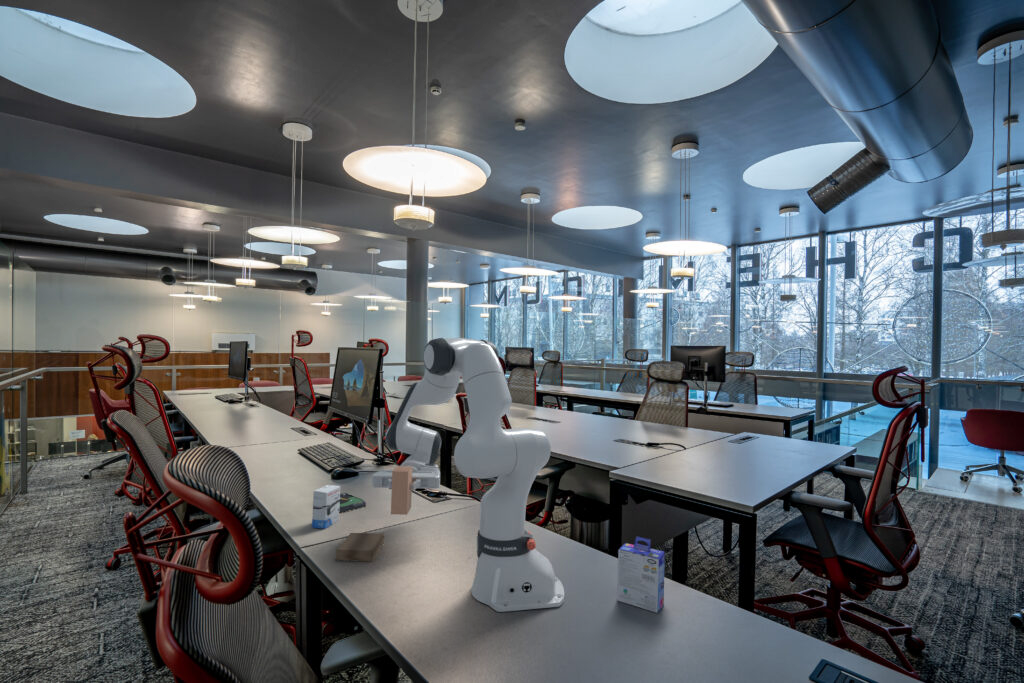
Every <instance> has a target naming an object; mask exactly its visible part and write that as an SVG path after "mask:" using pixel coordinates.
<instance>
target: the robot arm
mask: <svg viewBox="0 0 1024 683" xmlns="http://www.w3.org/2000/svg"><path fill="white" fill-rule="evenodd" d="M499 358H500V357H499V351H498V347H497V346H496V345H495V343H494V342H493V341H492V342H491V341H490V340H486V339H475V338H464V337H449V338H444V337H438V338H432V339H430V340H429V341H428V342H427V343H426V345H425V347H424V351H423V363H424V367H425V370H424V375H423V376H422V379H420V380H419V381H418V382H413V384H411V386H410V387H409V389H408V390H407V391H406V394H405V396H404V397H403V400H402V402H401V404H400V406H399V407H398V410H397V412H396V414H395V416H394V419H393V421H392V422H391V424H390V425H389V427H388V428H387V430H386V432H385V436H384V441H385V443H386V445H387V447H388V449H389V450H393V451H397V452H402V453H405V454H408V455H409V456H408V457H407V458H406V459H405V460H404V461H403V462H402V463H401V464H400V465H399V466H411V467H412V482H411V483H410V485H409V486H410V488H409V489H410V490H412V491H414V490H416V489H430V490H431V489H433V490H434V489H435V490H436V489H439V488H441V486H440V485H441V471H440V469H439V464H436V462H437V460H438V458H439V456H440V452H441V449H442V443H443V441H442V438H441V435H440V433H439V432H438V431H437V430H433V429H430V428H428V427H423V426H420V425H417V424H415V423H411V422H410V421H409V420H408V419H409V417H410V415H411V413H412V411H413V409H414V408H415V407H418V406H437V405H442V404H443V405H444V404H445V403H447V402H448V401H450V400H452V399H453V397H454V396H455V394H456V392H457V389H458V387H459V383H460V381H461V379H462V383H463V387H464V391H465V395H466V400H467V406H468V412H469V420H468V425H467V428H466V429H465V432H464V433H463V435H462V436H461V437H460V438H459V440H458V441H457V442H456V444H455V447H454V451H453V459H454V464H455V467H456V469H457V471H458V472H459V473H460V474H461V475H462V476H463V477H465V478H472V479H489V478H495V477H496V478H497V479H496V481H495V483H494V484H493V485H492V486H491V487H490V489H489V490H487V491H486V492H485V493H484V494H483V496H482V497H481V500H480V503H479V505H480V506H479V528H478V531H477V536H476V556H477V560H476V568H475V574H474V578H473V582H472V585H471V587H470V593H471V595H472V597H473V598H474V599H475V600H477V601H478V602H480V603H483V604H485V605H487V606H489V607H491V608H492V609H493V610H494V611H495V612H498V613H499V612H500V613H501V612H503V613H505V612H515V611H524V610H535V609H538V610H539V609H547V608H558V607H561V605H562V604H563V603H564V602H565V589H564V585H563V583H562V582H561V580H560V579H559V578H558V577H557V576H556V575H555V570H554V568H553V565H552V563H551V562H550V560H549V559H548V557H546V556H545V555H543V554H542V553H541V552H539V551H538V550H537V549H536V541H535V539H534V536H533V535H532V534H531V533H532V532H531V531H530V530H528V531H527V530H525V529H526V528H525V527H526V509H527V502H528V498H529V494H530V491H531V488H532V485H533V483H534V481H535V480H536V477H537V476H538V475H539V473H540V471H541V470H543V468H544V467H545V466H546V465H547V464H548V462H549V460H550V457H551V452H552V448H551V443H550V440H549V438H548V437H547V435H546V434H545V432H543V431H542V430H540V429H536V428H531V427H530V428H529V427H517V428H507V429H506V428H505V429H504V428H503V427H502V423H501V418H502V417H504V416H505V415H506V414H507V413H508V412H509V411H510V409H511V406H512V400H513V398H512V396H511V391H510V389H509V386H508V383H507V379H506V376H505V373H504V369H503V367H502V364H501V362H500V360H499ZM461 377H462V378H461ZM393 470H394V469H383V470H379V471H377V472H375V473H373V474H372V476H371V487H373V488H385V489H386V488H388V490H392V471H393Z"/></svg>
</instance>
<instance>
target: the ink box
mask: <svg viewBox="0 0 1024 683" xmlns="http://www.w3.org/2000/svg"><path fill="white" fill-rule="evenodd" d="M340 494H341V485H340V486H339V485H333V484H326V485H323V486H322V487H320V488H317V489H314V491H313V497H312V517H311V518H312V519H311V528H314V529H321V528H322V529H323V530H325V528H326V529H327V528H329V527H330V525H331V526H332V525H334V524H335V522H336V523H337V522H339V521H340V513H339V507H340Z"/></svg>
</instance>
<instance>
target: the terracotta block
mask: <svg viewBox="0 0 1024 683" xmlns="http://www.w3.org/2000/svg"><path fill="white" fill-rule="evenodd" d="M392 470H393V471H392V489H391V497H390V498H391V499H390V515H400V516H402V515H406V516H407V515H408V513H409V512H410V510H411V508H412V491H413V490H410V489H409V488H410V486H409V485H410V483H411V482H412V467H411V466H400V465H398V466H396V467H395V468H394V469H392Z"/></svg>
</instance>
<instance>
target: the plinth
mask: <svg viewBox="0 0 1024 683" xmlns="http://www.w3.org/2000/svg"><path fill="white" fill-rule="evenodd" d="M383 544H384V545H385V533H384V532H383V533H379V532H377V533H376V532H375V533H374V532H372V533H371V532H350V533H349V535H348V536H346V538H345V539H344V540H343V541H342V542H341V543H340V545H339V546H338V547H337V548H336V551H335V552H336V556H335V557H336V558H335V561H336V560H344V561H343V562H349V560H352V561H351V562H354V561H353V560H358V561H357V562H374V561H375V559H374V558H376V557H377V556H378V555H379V553H378V552H380V551H381V550H382V548H383V546H384V545H383ZM381 547H382V548H381ZM379 550H380V551H379ZM376 555H377V556H376ZM345 560H346V561H345Z"/></svg>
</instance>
